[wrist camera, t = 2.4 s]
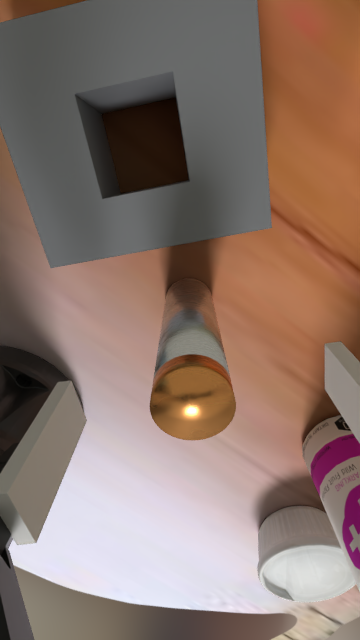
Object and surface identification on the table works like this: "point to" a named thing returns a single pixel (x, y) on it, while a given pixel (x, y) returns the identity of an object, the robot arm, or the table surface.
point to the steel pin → (191, 367)
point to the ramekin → (302, 556)
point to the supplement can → (338, 482)
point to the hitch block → (125, 92)
